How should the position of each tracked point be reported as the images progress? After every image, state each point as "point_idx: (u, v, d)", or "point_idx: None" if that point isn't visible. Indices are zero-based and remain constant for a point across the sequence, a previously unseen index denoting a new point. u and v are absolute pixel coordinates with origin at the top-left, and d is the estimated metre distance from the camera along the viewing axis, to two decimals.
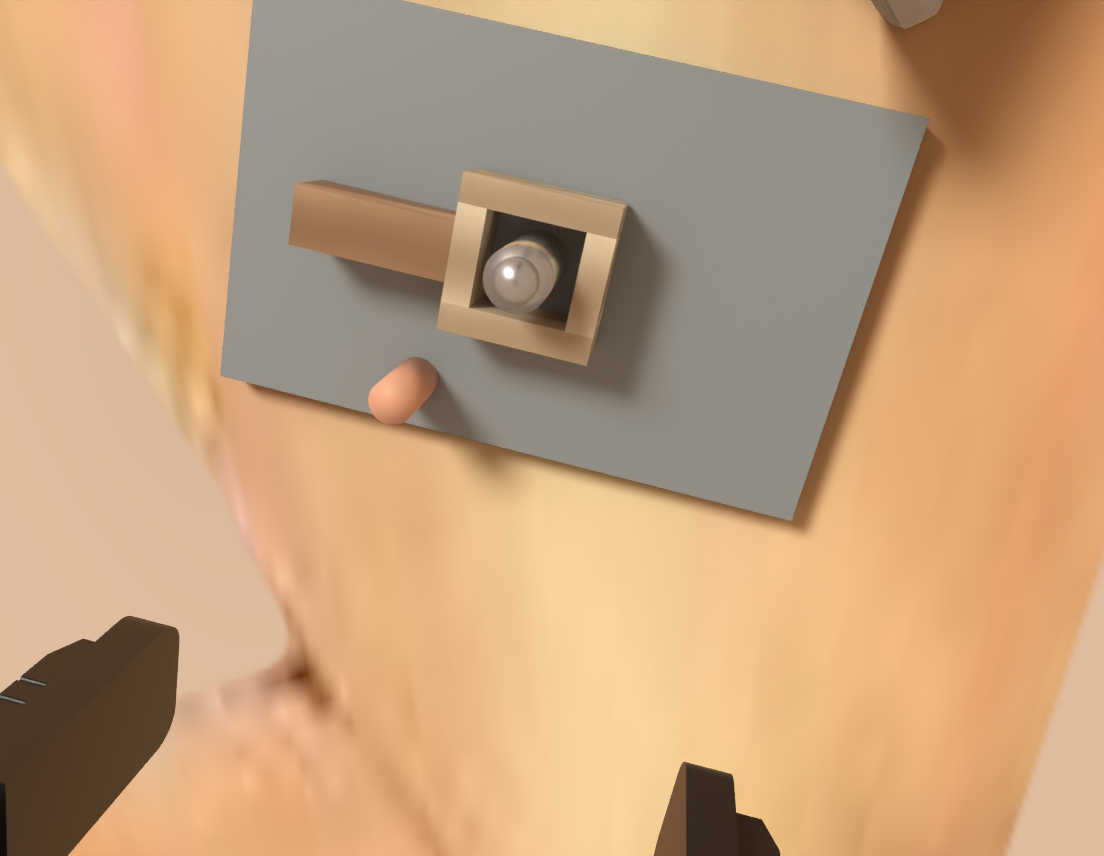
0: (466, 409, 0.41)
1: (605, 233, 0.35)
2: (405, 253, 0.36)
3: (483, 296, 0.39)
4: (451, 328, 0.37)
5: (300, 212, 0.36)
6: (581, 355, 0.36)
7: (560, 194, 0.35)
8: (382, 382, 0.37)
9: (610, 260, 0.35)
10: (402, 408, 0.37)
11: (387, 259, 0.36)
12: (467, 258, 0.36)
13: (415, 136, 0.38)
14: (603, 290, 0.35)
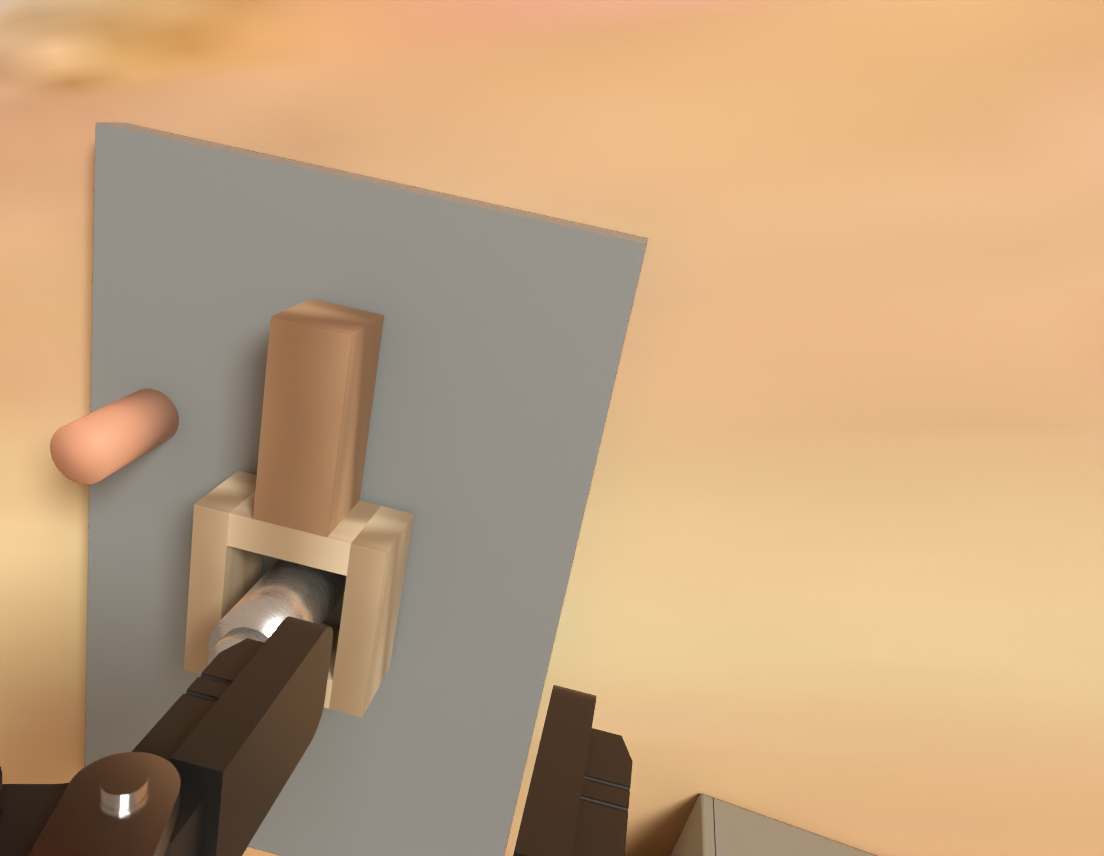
0: (125, 474, 0.32)
1: (333, 698, 0.30)
2: (280, 474, 0.28)
3: None
4: (198, 522, 0.29)
5: (315, 339, 0.26)
6: (194, 665, 0.31)
7: (371, 654, 0.29)
8: (104, 446, 0.27)
9: None
10: (76, 469, 0.28)
11: (270, 451, 0.27)
12: (285, 549, 0.29)
13: (447, 437, 0.30)
14: None
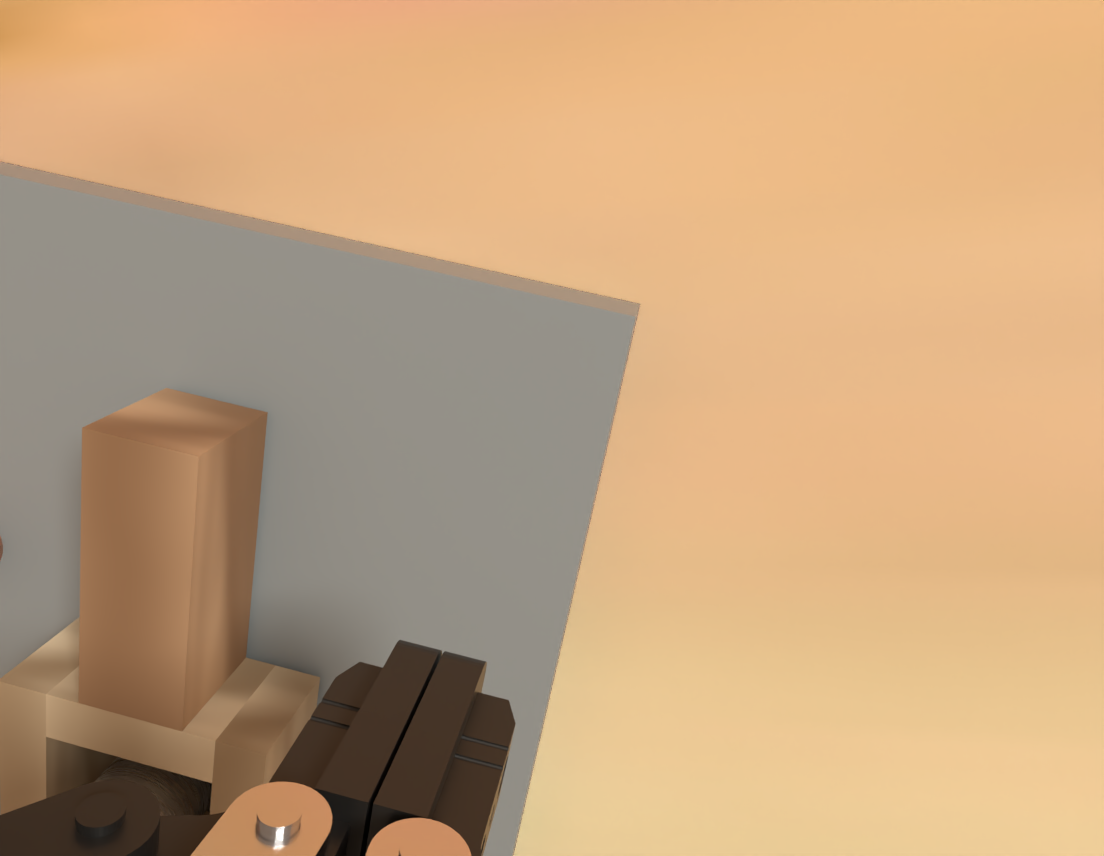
0: None
1: None
2: (112, 645, 0.19)
3: None
4: (4, 705, 0.20)
5: (146, 460, 0.18)
6: None
7: None
8: None
9: None
10: None
11: (95, 613, 0.19)
12: (126, 744, 0.20)
13: (361, 576, 0.22)
14: None
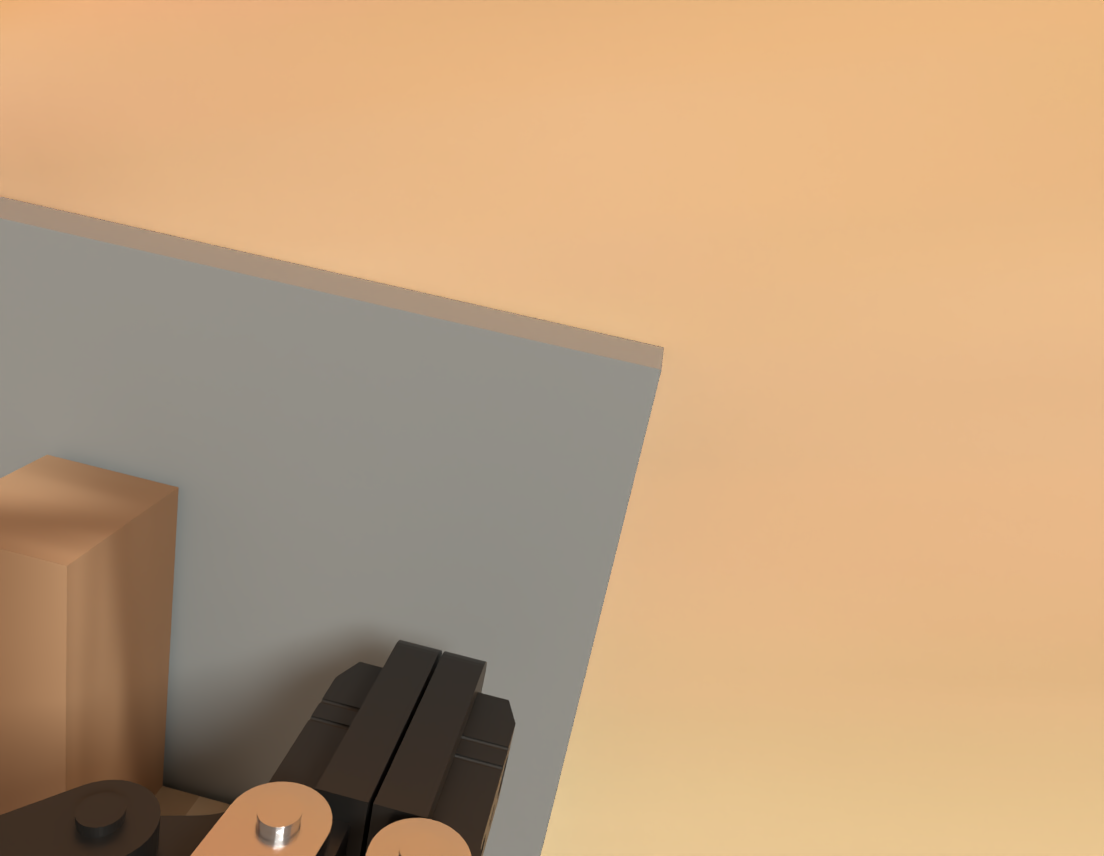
0: None
1: None
2: None
3: None
4: None
5: None
6: None
7: None
8: None
9: None
10: None
11: None
12: None
13: (305, 690, 0.17)
14: None
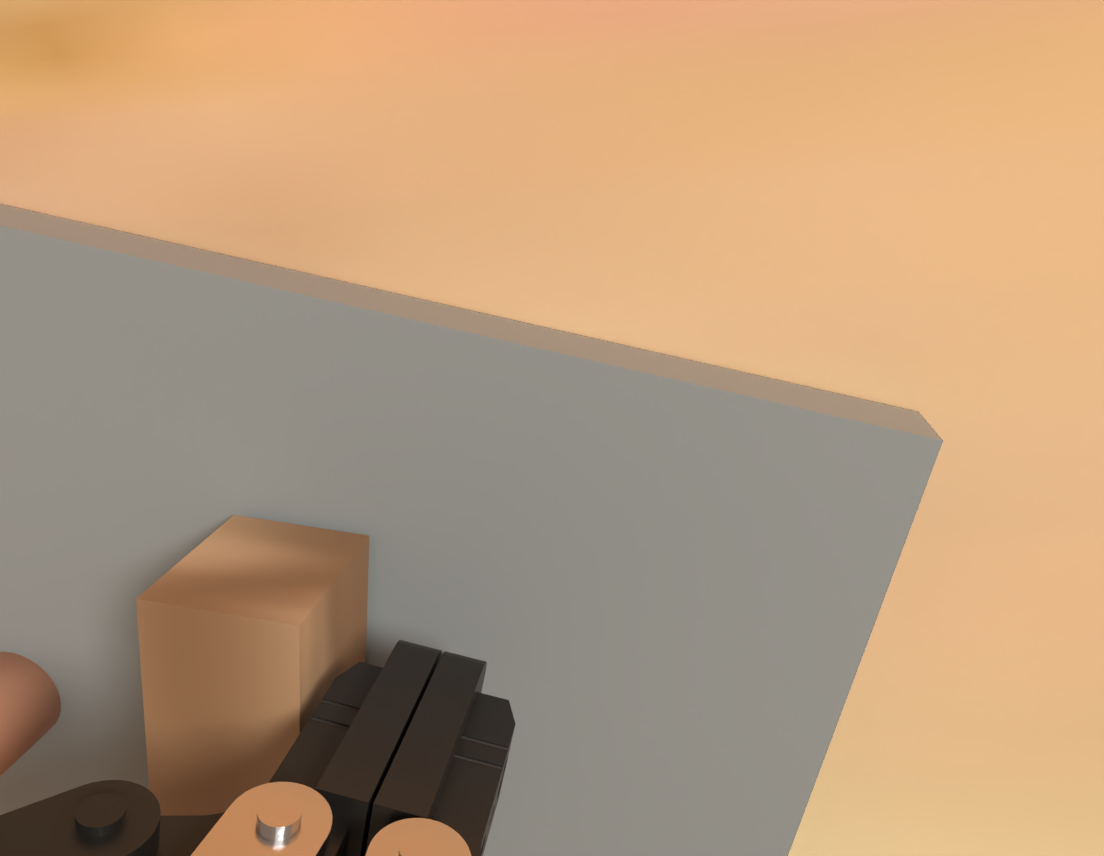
0: None
1: None
2: None
3: None
4: None
5: (228, 635, 0.13)
6: None
7: None
8: None
9: None
10: None
11: None
12: None
13: (534, 753, 0.17)
14: None
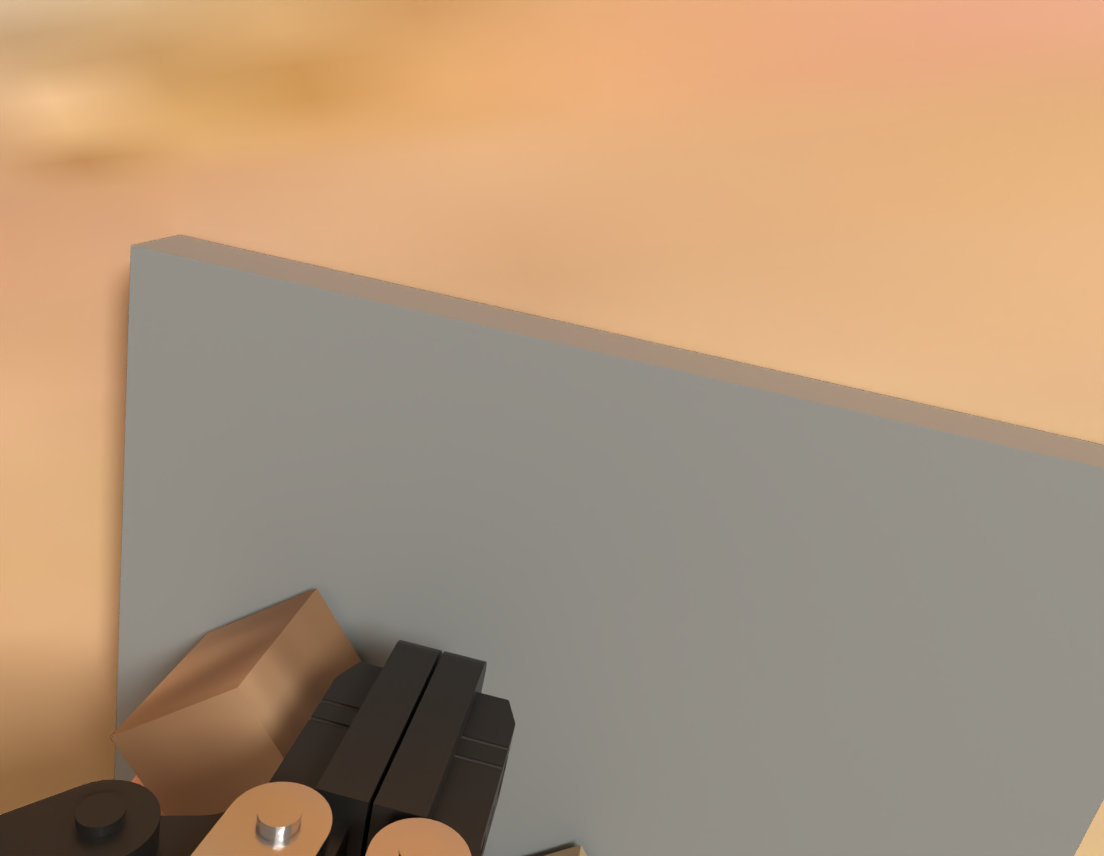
0: None
1: None
2: None
3: None
4: None
5: (193, 729, 0.13)
6: None
7: None
8: None
9: None
10: None
11: None
12: None
13: (778, 812, 0.16)
14: None
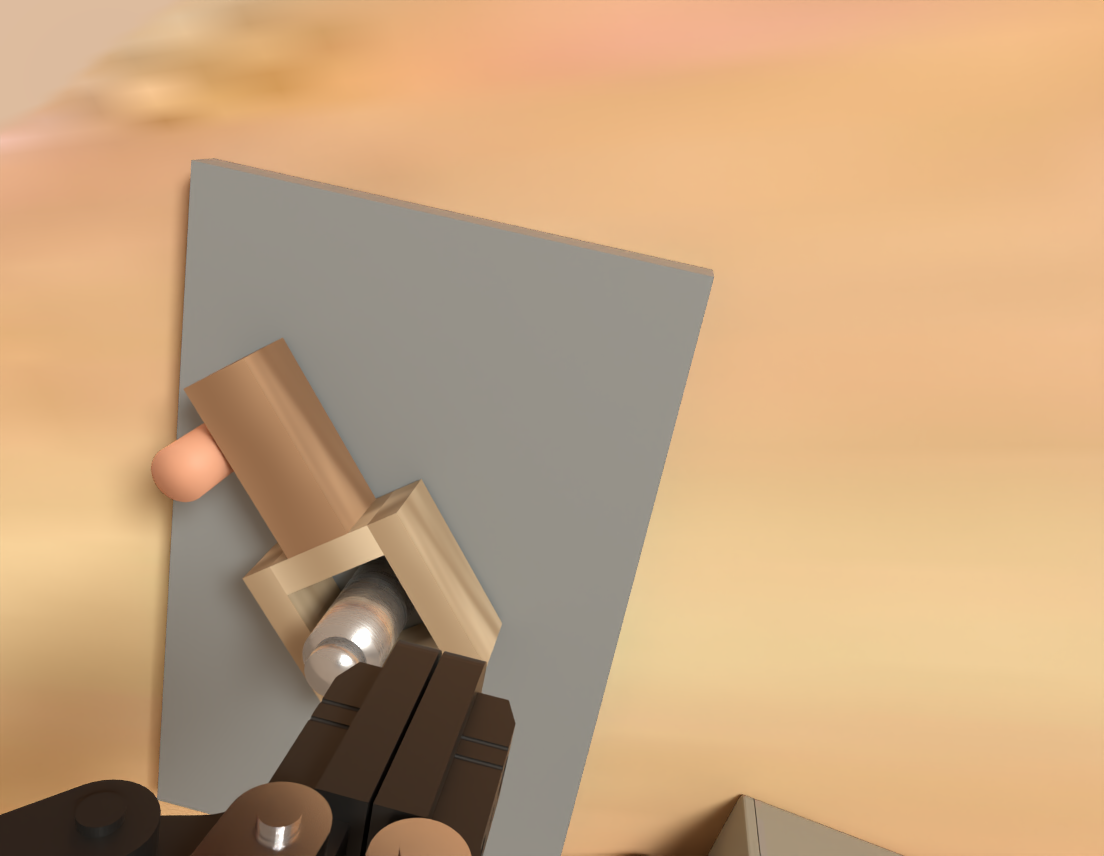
0: None
1: None
2: (280, 507, 0.30)
3: None
4: (255, 591, 0.31)
5: (222, 381, 0.29)
6: None
7: (452, 608, 0.31)
8: (203, 466, 0.29)
9: None
10: (175, 487, 0.29)
11: (259, 494, 0.30)
12: (327, 565, 0.31)
13: (519, 455, 0.32)
14: None
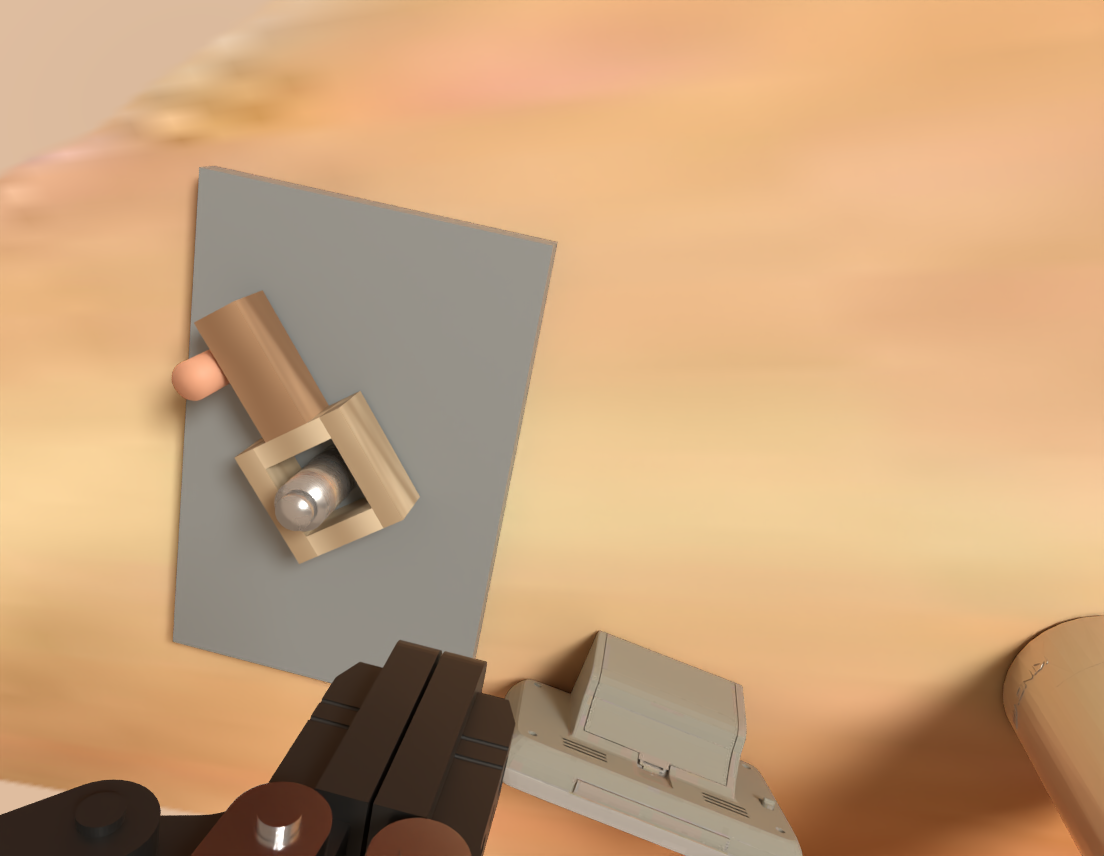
0: (211, 401, 0.48)
1: (380, 519, 0.45)
2: (259, 405, 0.44)
3: None
4: (243, 466, 0.45)
5: (220, 317, 0.42)
6: (302, 556, 0.46)
7: (378, 476, 0.44)
8: (207, 375, 0.43)
9: (369, 533, 0.45)
10: (188, 390, 0.43)
11: (245, 396, 0.44)
12: (292, 447, 0.44)
13: (428, 373, 0.45)
14: (349, 541, 0.46)
